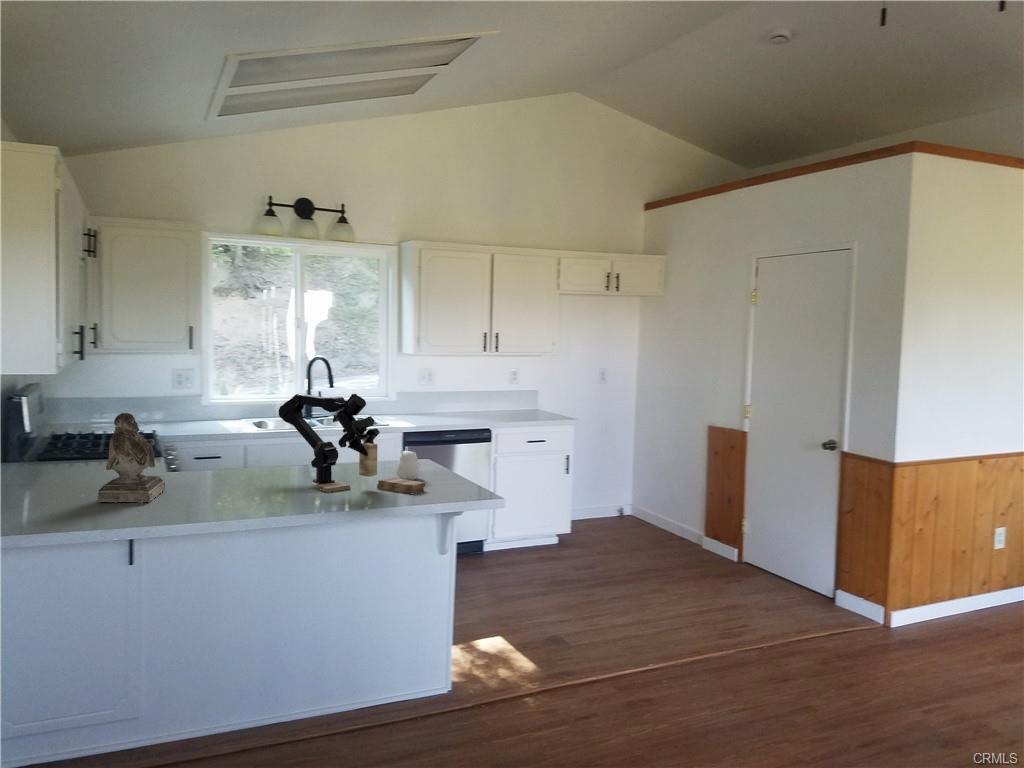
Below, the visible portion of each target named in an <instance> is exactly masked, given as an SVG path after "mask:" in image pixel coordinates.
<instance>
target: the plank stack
mask: <svg viewBox="0 0 1024 768" xmlns="http://www.w3.org/2000/svg"><path fill="white" fill-rule="evenodd" d="M377 481H378V483H377V484H376V489H378V488H379V489H380V490H384V489H385V491H390V490H392V491H391V492H396V491H399V492H398V493H403V492H406V493H405V494H409V493H415V494H417V493H416V492H418V493H420V492H419V491H421V492H423V491H422V490H424V489H425V488H426V482H423V481H416V480H405V479H401V478H399V477H398V478H397V477H391V476H390V477H386V478H382V479H378V480H377Z"/></svg>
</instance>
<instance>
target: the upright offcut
mask: <svg viewBox="0 0 1024 768" xmlns="http://www.w3.org/2000/svg"><path fill="white" fill-rule="evenodd" d="M362 444H363V446H364V448H365V449H366V451H367V453H368V455H367V456H365V455H363V454H361V453H359V452H358V453H359V454H358V455H359V458H358V459H359V463H358V464H359V466H358V467H359V468H358V469H359V470H358V473H359V474H358V476H362V477H363V476H364V477H369V478H371V477H374V476H377V475H378V444H377V443H374V444H373V443H364V442H362Z"/></svg>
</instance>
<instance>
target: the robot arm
mask: <svg viewBox="0 0 1024 768" xmlns="http://www.w3.org/2000/svg"><path fill="white" fill-rule="evenodd" d="M305 406H311V407H317V408H322V410H324V411H327V412H328V413H336V414H333V418H332V422H333V423H335V422H336V423H337V422H339V424H340V426H341V427H342V432H343V433H344V434H343V435H342V436H341V437H340V438H339V440H338V445H339V447H340V448H346V447H347V448H348V449H352V451H356V452H357V453H361V454H363V455H365V456H367V455H368V453H367V451H366V449H365V448H364V446H363V443H373V444H375V442H374V440H375V439H376V438H377V436H378V435H380V433H381V432H380V430H379V429H378V428H375V427H373V426H374V424H375V419H374V418H373V417H372V416H367V417H365V418H363V419H360V420H359V419H357V420H356V418H355V417H356V416H358V415H359V414H360V412H362V411H363V409H364V408H365V407H366V406H367V401H366V400H365V399H364V398H362V397H361V396H359V395H358V394H357V393H352V394H351V395H350V397H349V398H348V399H347V400H346V399H345V398H344V397H343V396H334V397H333V396H332V397H331V396H330V397H323V396H319V395H312V394H306V393H296V394H295V395H293V396H292V397H291V398H290V399H289V400H287V401H286V402H284V403H283V404H282V405H280V406H279V408H278V411H277V412H278V416H279V418H280V419H281V420H283V421H284V422H285V423H287V424H290V425H291V426H293V428H295V430H296V431H297V432H298V433H299V434H300V436H301V437H302V438H303V439H304V440H305V441H306V442H307V443H308V445H309V446H310V447H311V448H312V450H313V455H314V458H313V459H312V460H311V462H310V464H311V467H312V468H315V470H316V471H315V474H316V475H315V477H316V478H315V479H312V482H314V481H316V482H315V483H317V482H319V483H318V484H327V483H326V482H328V483H336V482H335V479H333V478H332V473H333V472H332V467H333V466H336V464H337V461H338V459H339V451H338V448H337V447H336V446H335V445H334V444H333V442H332V441H326V442H325V441H324V440H323V439H322V438H321V437H320V436H319V435H318V433H317V432H316V431H315V430H314V429H313V428H312V427H311V425H310V424H309V423H308V422H307V421H306V419H304V415H303V410H304V408H305ZM369 427H373V428H369ZM367 428H369V429H367ZM347 443H348V446H347Z"/></svg>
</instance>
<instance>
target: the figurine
mask: <svg viewBox="0 0 1024 768" xmlns="http://www.w3.org/2000/svg"><path fill="white" fill-rule="evenodd" d="M396 466H397V467H396V476H397V477H398V479H405V480H411V481H415V480H416V479H418V478H419V477H420V476H421V474H422V470H421V469H420V467H421V466H422V462H420V461H419V460H418V456H417V453H416V451H412V450H411V451H410V450H401V451H400V456H399V459H398V463H397V465H396Z"/></svg>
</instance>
